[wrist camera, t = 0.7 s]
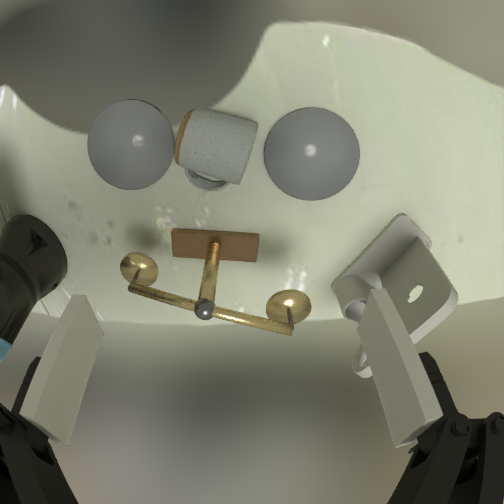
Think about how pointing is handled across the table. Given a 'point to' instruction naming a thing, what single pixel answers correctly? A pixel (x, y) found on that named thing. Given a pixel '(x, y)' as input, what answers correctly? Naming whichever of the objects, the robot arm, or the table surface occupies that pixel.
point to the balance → (215, 279)
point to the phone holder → (397, 282)
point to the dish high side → (311, 154)
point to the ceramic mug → (214, 147)
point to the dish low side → (131, 144)
